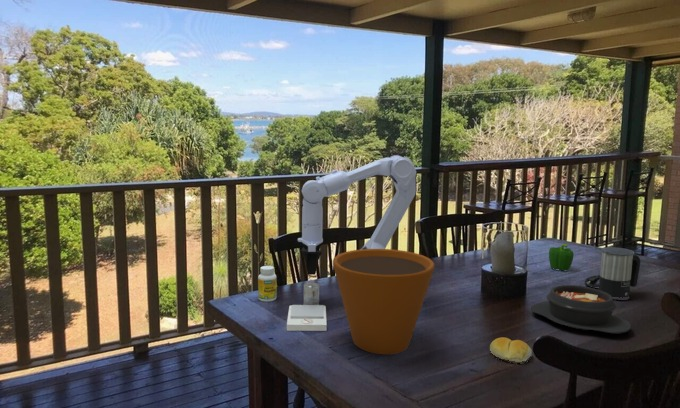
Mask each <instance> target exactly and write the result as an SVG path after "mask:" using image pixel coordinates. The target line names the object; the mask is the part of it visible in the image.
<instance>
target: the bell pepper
mask: <svg viewBox="0 0 680 408" xmlns="http://www.w3.org/2000/svg"><path fill="white" fill-rule="evenodd" d="M548 259H549V265H550V268H551V269H552V268H554V269H559V270H558V271H560V270H568V271H569V270H570V268H571V267H572V264H573V260H574V251H573V250H572V249H571V248H569V245H567V244H565V243H563V244H561V245H560V246H558V247H550V249H549V250H548ZM554 269H553V270H554Z"/></svg>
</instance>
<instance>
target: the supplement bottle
mask: <svg viewBox="0 0 680 408" xmlns="http://www.w3.org/2000/svg"><path fill="white" fill-rule="evenodd" d="M259 269H260V274H259V275H258V277H257V284H258V285H257V286H258V291H257V292H258V293H257V294H258V298H257V299H258V300H259V301H261V302H267V303H268V302H274V301H275V300H276V299H277V294H278V293H277V292H278V291H277V287H278V286H277V281H278V280H277V274H275V267H274V266H272V265H263V266H261V267H260V268H259Z"/></svg>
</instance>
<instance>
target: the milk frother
mask: <svg viewBox="0 0 680 408" xmlns="http://www.w3.org/2000/svg"><path fill="white" fill-rule="evenodd" d="M600 260H601V263H600V272H599V275H591V276H589V277H586V278H585V279H584V284H585V286H587V285H588V286H592V287H599V288H598V289H597V290H601V291H603V292H606V293H608V294H609V295H611V296H612V297H619V298H620V297H622V298H623V297H628V296H629V295H630V293H631V292H630V291H631V290H630V289H631V287H633V288H635V287H637V285H638V279H639V273H640V267H641V259H640V257H639V255H638V254H636V253H635V252H634V251H633V250H632V249H629V248H628V249H627V248H622V247H615V246H614V247H609V246H607V247H606V246H605V247H603V248H601V259H600ZM596 283H598V284H596ZM588 286H587V287H588Z"/></svg>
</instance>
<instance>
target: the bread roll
mask: <svg viewBox="0 0 680 408" xmlns="http://www.w3.org/2000/svg"><path fill="white" fill-rule="evenodd" d="M489 351H491V352H490V354H491V353H492V354H493V355H495V356H496V357H499V358H501V359H505V360H509V361H515V362H522V361H526V360H527V359H528V358H529V357H530V356H531V357H532V354H533V353H532V352H533V351H532V348H531V347H530V346H529V345H528V344H527V343H526V342H524V341H523V340H520V339H515V340H511V339H510V338H508V337H506V336H505V337H503V336H502V337H498V338H497V337H496V338H495V339H494V340H492V342H491V343H490V345H489ZM492 354H491V355H492ZM493 355H492V356H493ZM509 361H508V362H509Z"/></svg>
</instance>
